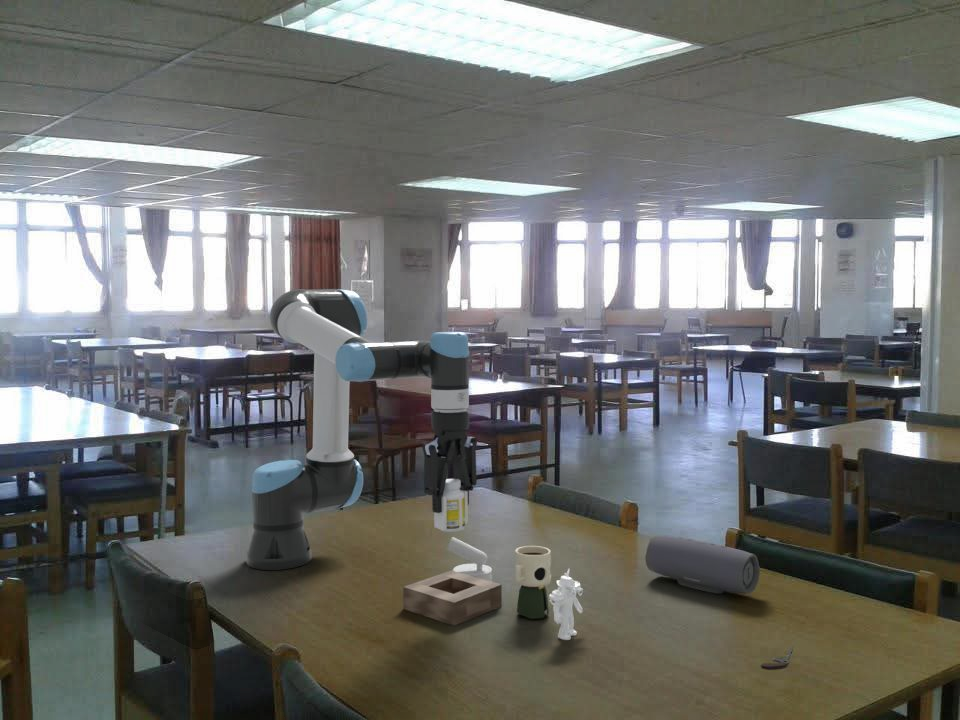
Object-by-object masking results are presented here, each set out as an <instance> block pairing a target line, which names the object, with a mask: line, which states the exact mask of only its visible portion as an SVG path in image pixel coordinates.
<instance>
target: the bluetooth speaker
mask: <svg viewBox="0 0 960 720" xmlns="http://www.w3.org/2000/svg"><path fill="white" fill-rule="evenodd" d="M645 565H646V567H647V568H648V570H649V571H651V572H653V573H656V574H658V575H660V576H661V575H662V576H665V577H669V578H670V579H675V580H677V583H678V585H681V586H684V587H687V588H691V589H695V590H699V591H703V592H707V593H712V594H719V595H720V594H723V593H725V592H729V593H735V594H743V595H749V594H752V593H753V592H754V591H755V589H756V588H757V586H758V583H759V580H760V573H761V570H760V569H761V568H760V564H759V560H758V556H757V555H756V554H754V553H752V552H751V553H750V552H748V551H745V550H741V549H737V548H734V547H729V546H726V545H725V546H724V545H721V544H718V543H712V542H708V541H703V540H698V539H692V538H686V537H681V536H673V535H667V534H655V535H653V536H652V537H651V538H650V540H649V542H648V544H647V548H646V553H645Z"/></svg>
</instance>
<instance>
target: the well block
mask: <svg viewBox="0 0 960 720" xmlns="http://www.w3.org/2000/svg"><path fill="white" fill-rule="evenodd" d="M502 590H503V587H502V583H498V582H494V581H492V582H491V581H487V580H484V579H480V578H476V577H473V576H469V575H466V574H462V573H458V572H455V571H453V570H448V571H446V572H443V573H440V574H436V575H434V576H431V577H428V578H426V579H422V580H419V581H416V582H413V583H410V584H408V585H405V586H403V587H402V594H403V595H402V596H403V597H402V598H403V603H402V604H403V610H406V611H408V612H412V613H415V614H418V615H420V616H424V617H427V618H430V619H433V620H436V621H439V622H441V623H445V624H447V625H452V626H455V627H456V626H457V625H460V624H462V623H465V622H467V621H469V620H471V619H474V618H477V617H478V616H479V617H480V616H481V615H484V614H487V613H489V612H491V611H494V610H495V609H498V608H501V607H502V604H503V601H502V600H503V599H502V596H503V594H502V593H503V592H502Z"/></svg>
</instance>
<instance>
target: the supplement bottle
mask: <svg viewBox="0 0 960 720" xmlns="http://www.w3.org/2000/svg"><path fill="white" fill-rule="evenodd" d="M460 486H461V482H460V480H459V479H456V478H446V482H445V488H444V493H443V496H446V497H447V529H445V530H443V529H439V528H437V529H438V530H439V531H442V532H448V533H454V532H461V531H463V530H464V529H465V528H466V527H465V526H466V524H465V504H464V493H463V492H462V491H461V490H460V489H459V488H460Z"/></svg>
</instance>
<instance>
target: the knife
mask: <svg viewBox="0 0 960 720" xmlns="http://www.w3.org/2000/svg"><path fill="white" fill-rule="evenodd" d="M791 647H792V646H791ZM791 647H790V650H789V651H788V654H787V655H786V656H784V658H785V657H787V658H786V659H783V656H779V657H780V658H779V657H778V658H777V656H774V657H773V658H772V660H771V661H773V662H777V663H773V662H772V663H769V662H768V663H767V662H763V663H762V664H760V668H761V669H764V670H777V669H778V668H780V669H784V668H786V667H788V664H789V661H790V657H791V655H792V653H793V651H794V647H792V648H791ZM791 652H792V653H791ZM775 657H776V658H775ZM781 657H782V658H781ZM779 659H780V660H779ZM781 659H782V660H781ZM788 659H789V660H788ZM783 667H784V668H783ZM778 670H779V669H778Z"/></svg>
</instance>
